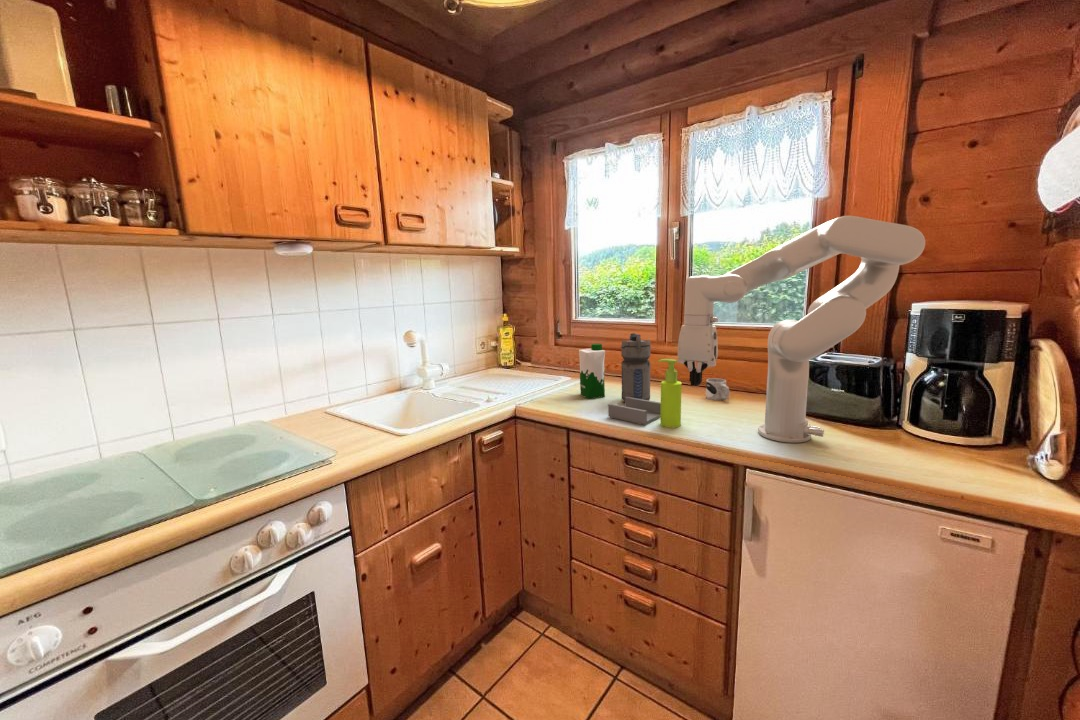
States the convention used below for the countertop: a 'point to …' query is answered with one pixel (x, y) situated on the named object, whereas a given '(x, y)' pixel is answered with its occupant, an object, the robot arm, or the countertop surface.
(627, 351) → the beverage bottle
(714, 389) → the mug
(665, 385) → the soap dispenser
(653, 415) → the cradle
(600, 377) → the soya milk
